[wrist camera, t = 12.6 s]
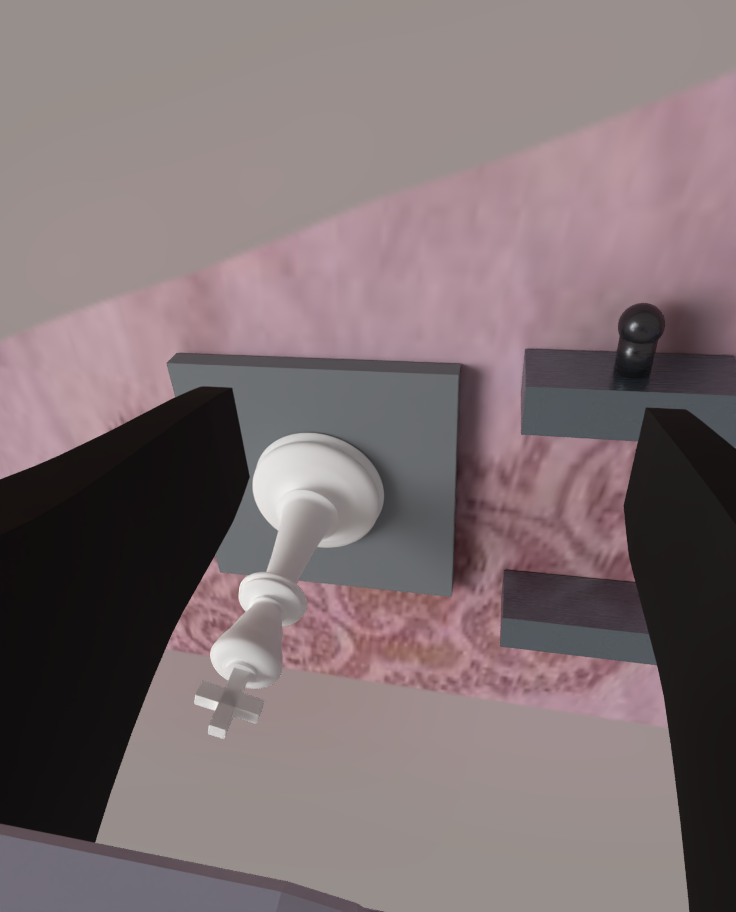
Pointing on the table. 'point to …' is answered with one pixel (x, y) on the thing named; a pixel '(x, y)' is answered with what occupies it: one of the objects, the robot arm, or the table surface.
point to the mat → (371, 432)
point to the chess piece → (288, 559)
